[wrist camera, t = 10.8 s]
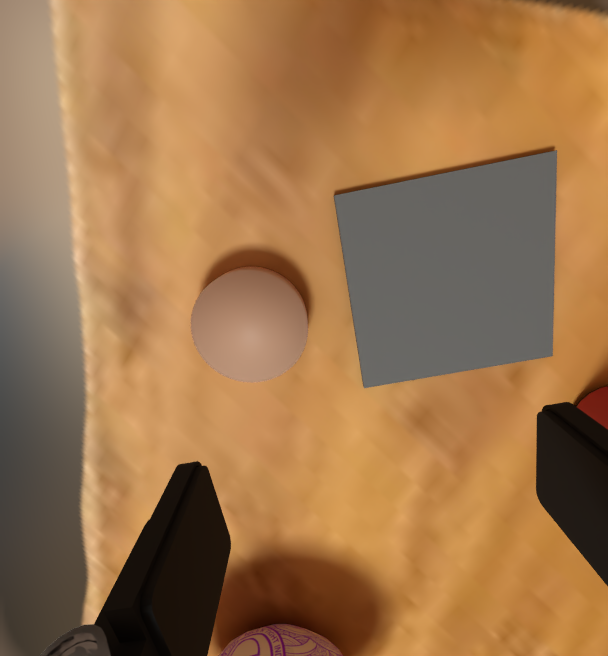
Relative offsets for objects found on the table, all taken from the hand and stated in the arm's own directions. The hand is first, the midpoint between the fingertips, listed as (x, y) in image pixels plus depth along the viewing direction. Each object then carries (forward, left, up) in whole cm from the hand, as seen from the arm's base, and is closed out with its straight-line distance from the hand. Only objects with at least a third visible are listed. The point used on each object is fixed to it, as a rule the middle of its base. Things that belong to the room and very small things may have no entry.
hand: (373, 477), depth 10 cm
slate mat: (-10, 0, -20) cm, 23 cm away
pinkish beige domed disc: (+6, 0, -20) cm, 21 cm away
